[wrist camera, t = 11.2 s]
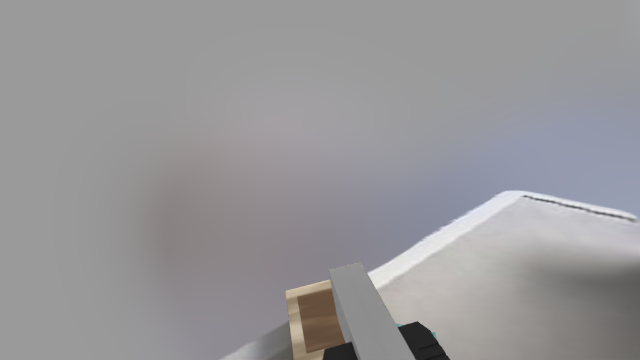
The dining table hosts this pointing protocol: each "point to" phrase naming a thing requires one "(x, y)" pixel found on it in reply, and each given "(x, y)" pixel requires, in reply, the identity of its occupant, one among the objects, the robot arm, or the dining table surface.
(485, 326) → the dining table surface
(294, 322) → the light brown rectangular block
